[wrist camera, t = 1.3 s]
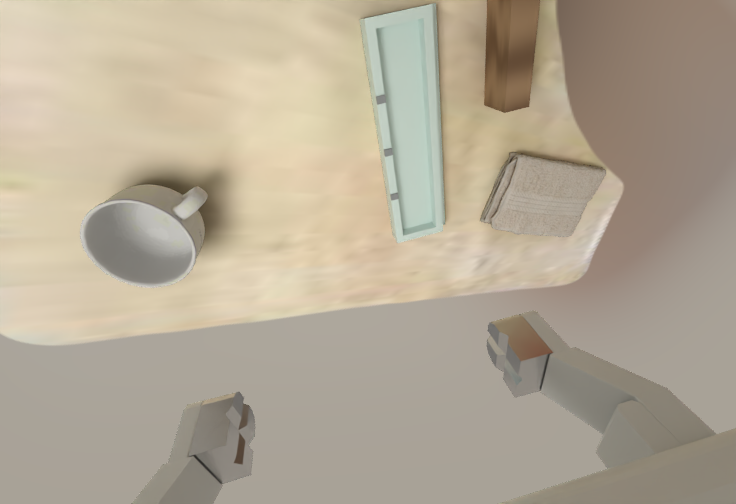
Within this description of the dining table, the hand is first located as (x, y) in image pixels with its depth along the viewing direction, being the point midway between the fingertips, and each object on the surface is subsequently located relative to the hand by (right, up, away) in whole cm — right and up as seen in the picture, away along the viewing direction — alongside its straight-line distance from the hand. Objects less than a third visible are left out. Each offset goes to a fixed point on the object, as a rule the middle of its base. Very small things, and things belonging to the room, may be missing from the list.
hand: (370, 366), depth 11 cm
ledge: (+5, +18, +32) cm, 37 cm away
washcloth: (+27, +13, +41) cm, 51 cm away
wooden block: (+15, +27, +28) cm, 42 cm away
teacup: (-24, +9, +31) cm, 40 cm away
